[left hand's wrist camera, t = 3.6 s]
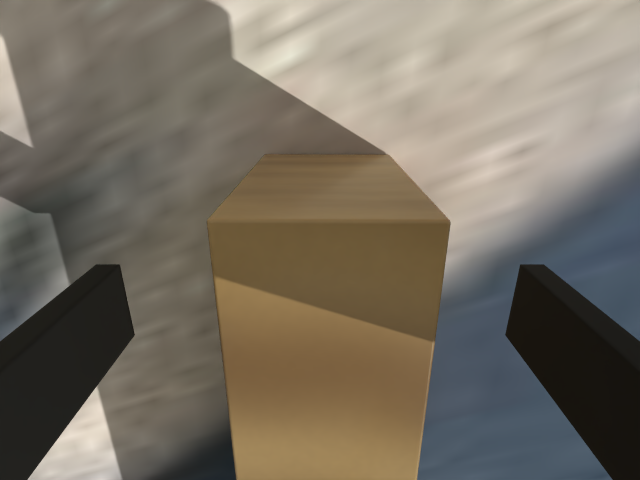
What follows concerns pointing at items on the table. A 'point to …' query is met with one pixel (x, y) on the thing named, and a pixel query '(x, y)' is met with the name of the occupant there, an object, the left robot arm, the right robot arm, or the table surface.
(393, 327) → the beam
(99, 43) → the table surface
